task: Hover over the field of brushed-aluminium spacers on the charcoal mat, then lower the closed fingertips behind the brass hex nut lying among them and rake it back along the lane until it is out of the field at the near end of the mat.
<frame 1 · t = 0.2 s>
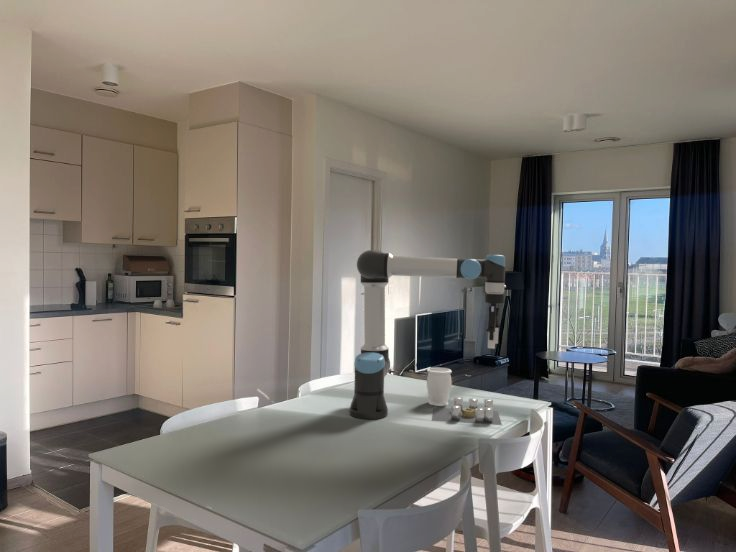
hand: (492, 345, 230), 27 cm above the table, fingers open, 13 cm apart
mat: (465, 417, 224), on the table
jar: (438, 405, 242), on the table
nut: (468, 415, 224), point 1 cm above the table, touching mat
spacers: (465, 415, 224), resting on mat
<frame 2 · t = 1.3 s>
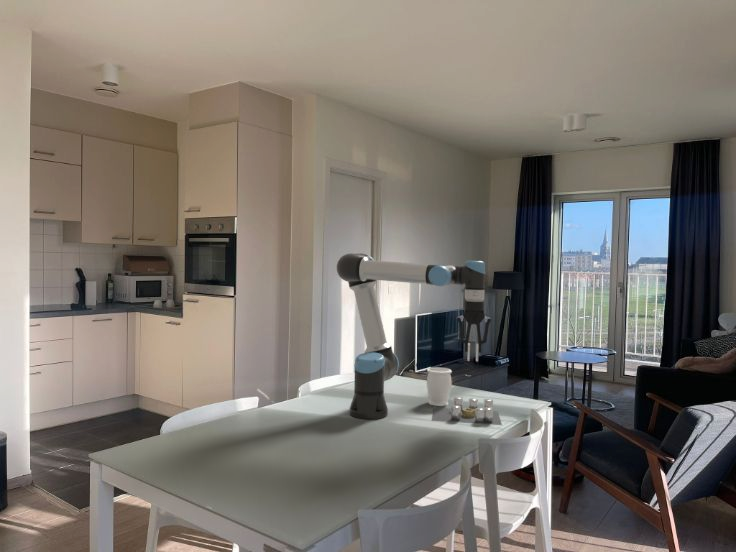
hand: (472, 360, 223), 23 cm above the table, fingers open, 3 cm apart
nothing on the table moved.
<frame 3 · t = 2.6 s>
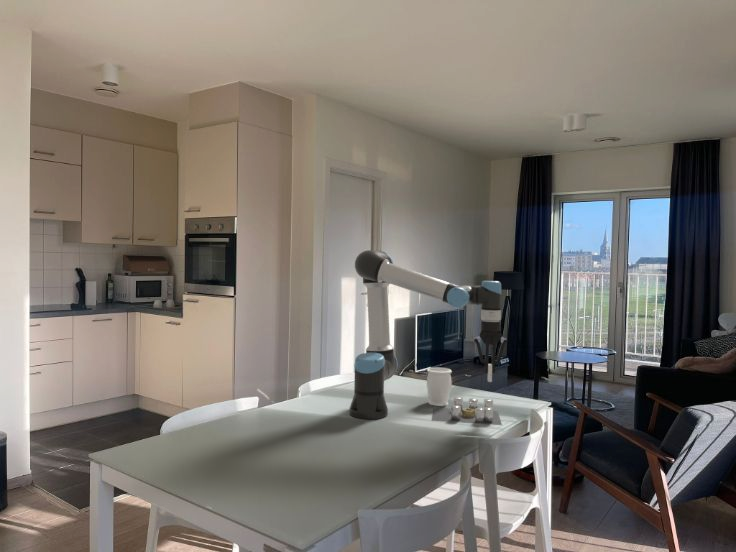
hand: (489, 381, 222), 15 cm above the table, fingers closed
nothing on the table moved.
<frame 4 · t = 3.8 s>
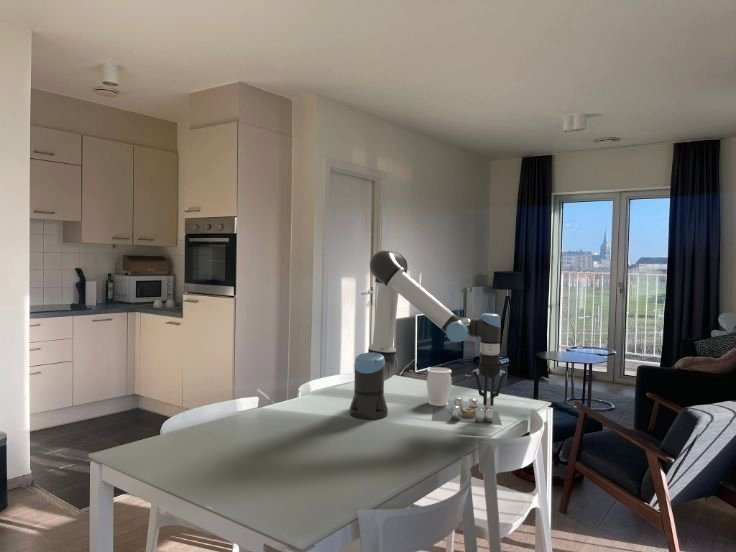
hand: (488, 413, 222), 2 cm above the table, fingers closed
nothing on the table moved.
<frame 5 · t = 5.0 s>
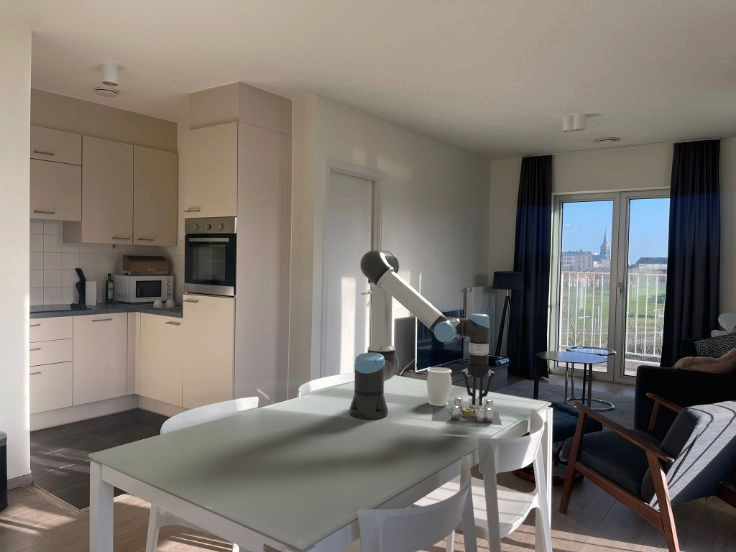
hand: (476, 413, 223), 2 cm above the table, fingers closed
nut: (468, 415, 224), point 1 cm above the table, touching gripper
everything else where it was.
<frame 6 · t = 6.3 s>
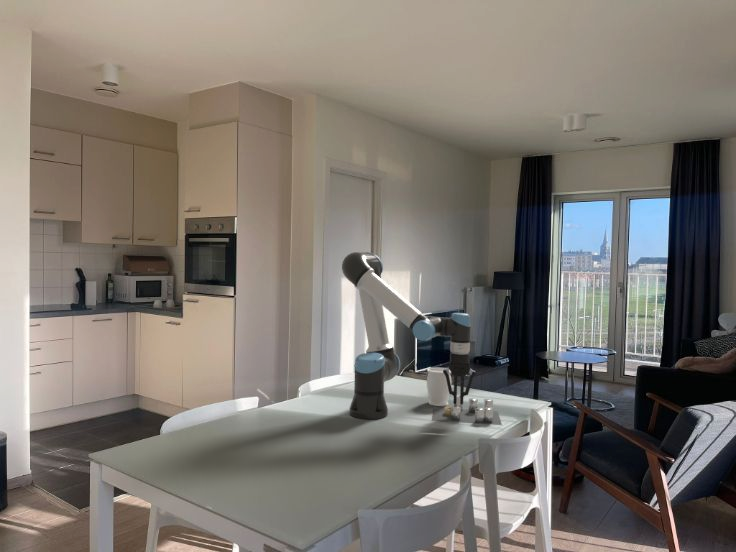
hand: (457, 412, 224), 2 cm above the table, fingers closed
nut: (450, 414, 225), point 1 cm above the table
everything else where it was.
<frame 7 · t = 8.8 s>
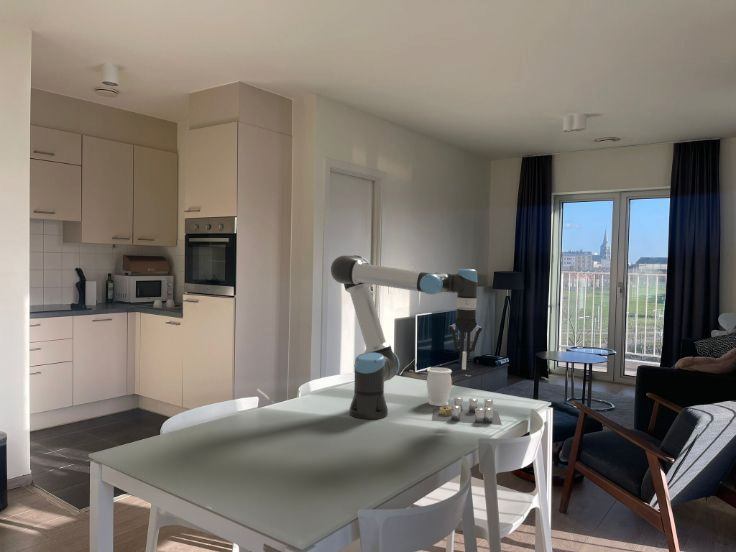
hand: (463, 368, 223), 19 cm above the table, fingers closed
nut: (445, 414, 225), point 1 cm above the table, touching mat
everything else where it was.
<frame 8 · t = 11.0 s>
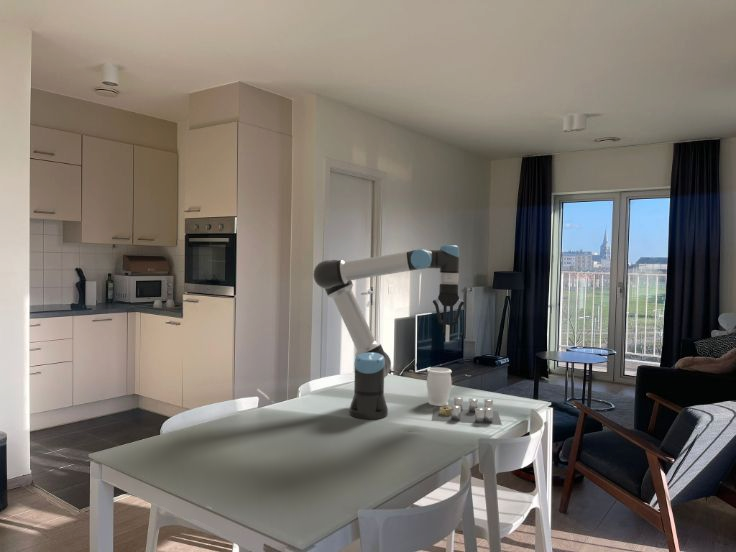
hand: (447, 341, 232), 28 cm above the table, fingers closed
nothing on the table moved.
at the end: nut inside the target area (1.4 cm from its centre), point 0.6 cm above the table; nut moved 8.9 cm from its start; nut touching mat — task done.
